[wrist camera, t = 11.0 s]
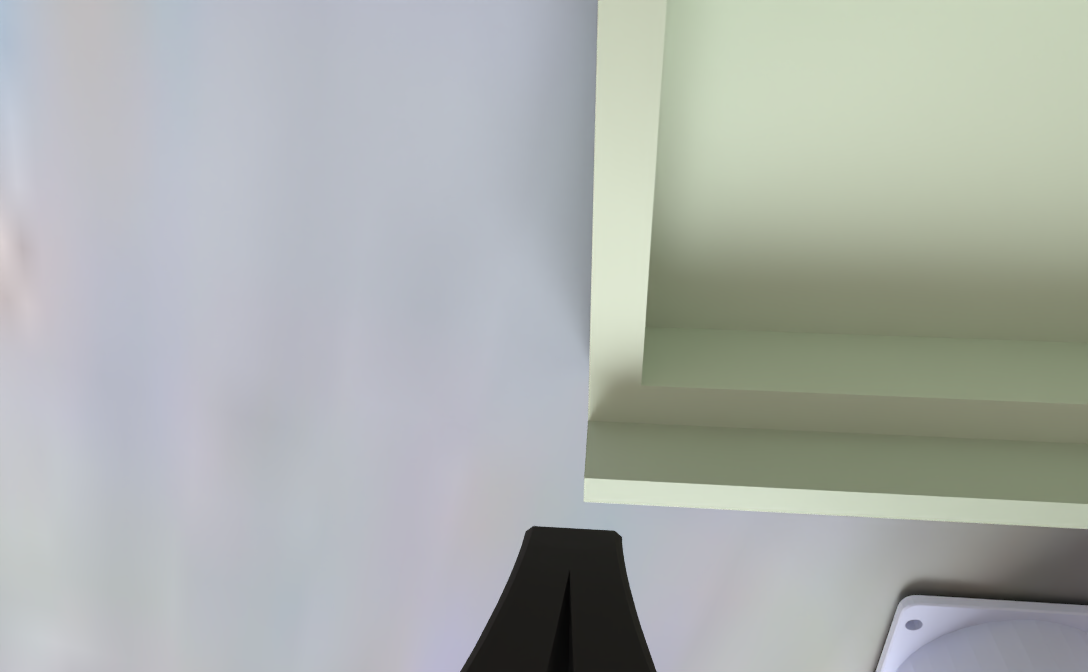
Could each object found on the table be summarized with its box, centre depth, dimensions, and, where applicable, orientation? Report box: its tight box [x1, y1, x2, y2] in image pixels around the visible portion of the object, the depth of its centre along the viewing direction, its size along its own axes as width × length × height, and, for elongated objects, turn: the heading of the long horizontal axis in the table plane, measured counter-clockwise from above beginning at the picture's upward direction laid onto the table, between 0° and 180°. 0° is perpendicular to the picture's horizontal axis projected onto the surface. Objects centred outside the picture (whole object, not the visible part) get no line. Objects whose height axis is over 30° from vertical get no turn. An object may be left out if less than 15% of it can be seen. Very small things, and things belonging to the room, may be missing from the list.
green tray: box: [584, 0, 1088, 529], centre depth 16 cm, size 13×17×5 cm
